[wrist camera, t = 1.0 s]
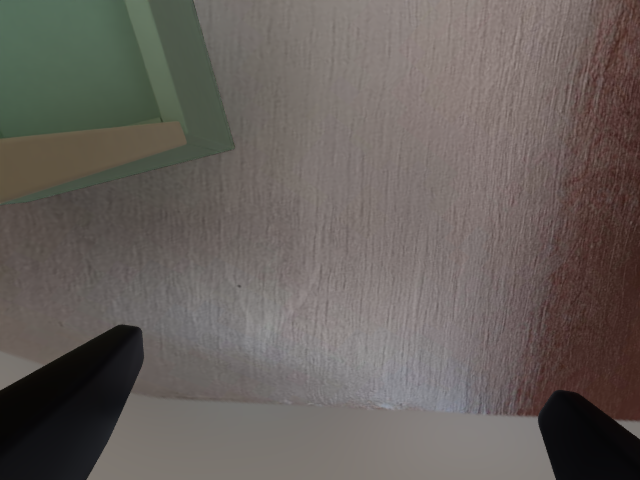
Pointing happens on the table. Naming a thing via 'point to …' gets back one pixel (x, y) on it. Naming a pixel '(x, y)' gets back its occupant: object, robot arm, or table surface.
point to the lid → (78, 155)
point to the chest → (108, 76)
